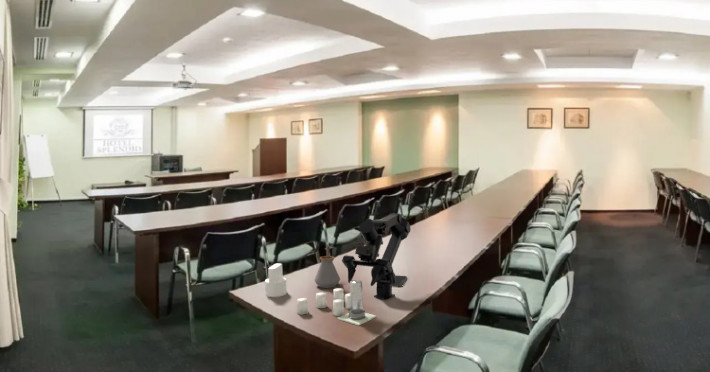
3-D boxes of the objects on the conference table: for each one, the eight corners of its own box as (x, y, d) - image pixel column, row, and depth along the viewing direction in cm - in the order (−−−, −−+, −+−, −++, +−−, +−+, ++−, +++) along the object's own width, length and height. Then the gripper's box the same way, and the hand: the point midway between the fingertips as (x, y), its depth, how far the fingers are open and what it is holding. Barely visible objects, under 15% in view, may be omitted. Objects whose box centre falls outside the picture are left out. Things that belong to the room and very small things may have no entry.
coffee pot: (340, 289, 200) (339, 255, 199) (313, 289, 200) (312, 256, 199) (341, 275, 221) (340, 245, 220) (317, 276, 221) (316, 245, 220)
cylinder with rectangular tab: (282, 297, 191) (281, 269, 190) (262, 296, 193) (261, 268, 192) (289, 290, 200) (288, 263, 198) (270, 289, 201) (269, 263, 200)
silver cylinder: (350, 313, 169) (349, 279, 168) (366, 314, 168) (365, 279, 167) (347, 319, 163) (346, 283, 162) (363, 320, 162) (362, 284, 161)
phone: (384, 284, 203) (391, 275, 217) (384, 287, 203) (391, 277, 217) (401, 285, 201) (407, 276, 215) (401, 288, 201) (407, 278, 215)
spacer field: (333, 298, 188) (332, 286, 188) (363, 306, 178) (362, 293, 177) (295, 313, 172) (294, 300, 172) (325, 322, 162) (325, 309, 162)
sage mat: (355, 311, 173) (355, 309, 173) (376, 317, 166) (376, 315, 166) (337, 319, 165) (337, 317, 165) (358, 325, 159) (358, 324, 159)
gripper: (343, 234, 175) (329, 270, 166) (388, 238, 166) (376, 275, 158) (353, 250, 183) (340, 285, 174) (396, 254, 174) (385, 291, 165)
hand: (360, 284), depth 168 cm, fingers open, 9 cm apart
